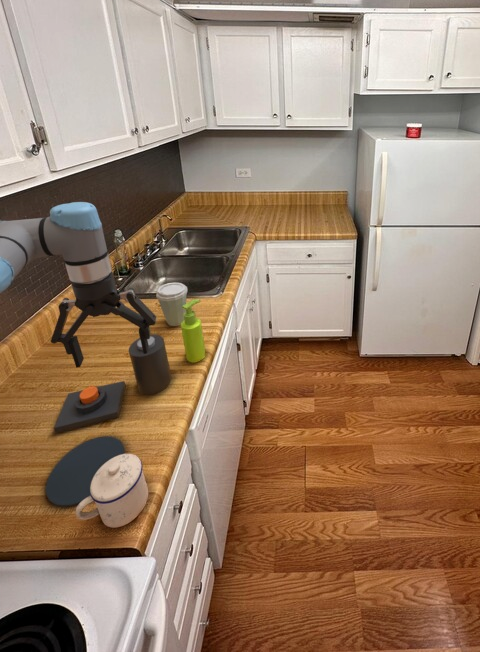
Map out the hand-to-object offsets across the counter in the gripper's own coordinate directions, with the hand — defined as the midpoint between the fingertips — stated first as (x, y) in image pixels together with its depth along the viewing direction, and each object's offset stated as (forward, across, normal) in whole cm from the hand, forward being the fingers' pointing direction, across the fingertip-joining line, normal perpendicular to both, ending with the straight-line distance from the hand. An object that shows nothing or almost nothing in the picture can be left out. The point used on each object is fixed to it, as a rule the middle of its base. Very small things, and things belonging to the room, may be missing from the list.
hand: (114, 356), depth 77 cm
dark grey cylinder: (+22, -4, -13) cm, 26 cm away
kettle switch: (+19, +11, -9) cm, 24 cm away
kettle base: (+23, +11, -9) cm, 27 cm away
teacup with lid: (+23, 0, +20) cm, 30 cm away
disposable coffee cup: (+22, -9, -42) cm, 49 cm away
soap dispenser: (+23, -16, -22) cm, 35 cm away
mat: (+23, +8, +9) cm, 26 cm away
